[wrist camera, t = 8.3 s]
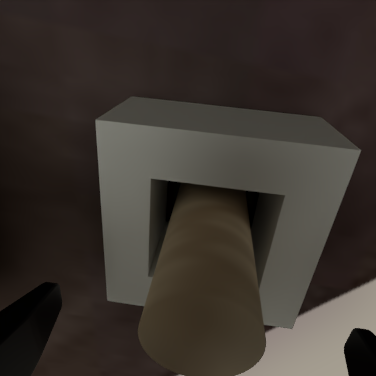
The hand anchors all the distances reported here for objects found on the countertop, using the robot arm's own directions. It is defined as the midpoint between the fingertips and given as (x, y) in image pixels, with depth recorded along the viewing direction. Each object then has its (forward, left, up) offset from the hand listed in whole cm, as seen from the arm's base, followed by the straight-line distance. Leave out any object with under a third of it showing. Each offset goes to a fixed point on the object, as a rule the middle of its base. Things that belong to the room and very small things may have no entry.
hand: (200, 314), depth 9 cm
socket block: (0, 0, -8) cm, 8 cm away
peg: (0, 0, -8) cm, 8 cm away
